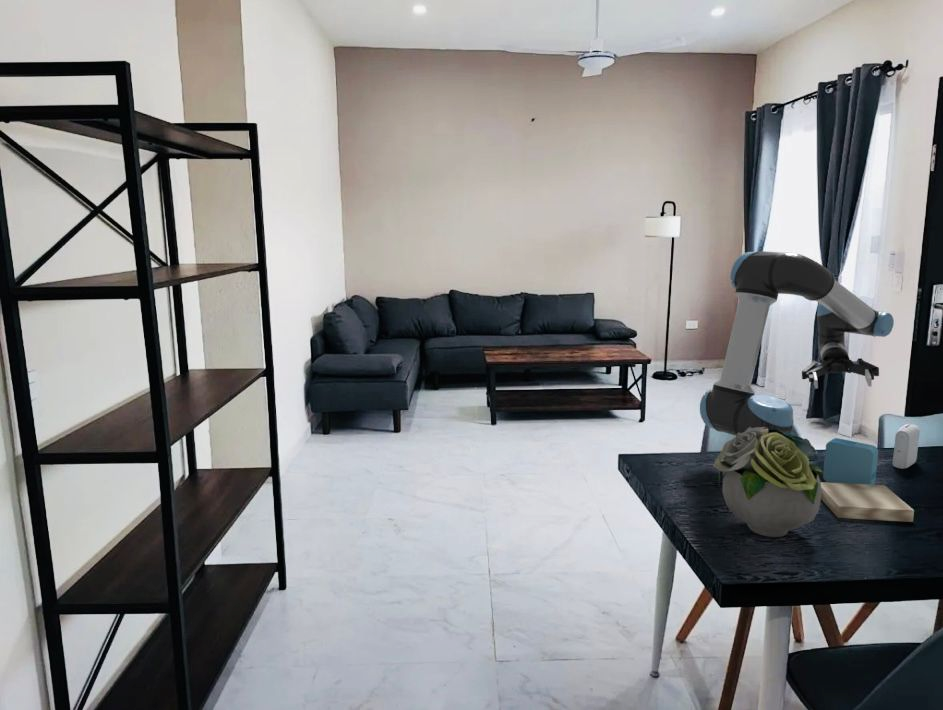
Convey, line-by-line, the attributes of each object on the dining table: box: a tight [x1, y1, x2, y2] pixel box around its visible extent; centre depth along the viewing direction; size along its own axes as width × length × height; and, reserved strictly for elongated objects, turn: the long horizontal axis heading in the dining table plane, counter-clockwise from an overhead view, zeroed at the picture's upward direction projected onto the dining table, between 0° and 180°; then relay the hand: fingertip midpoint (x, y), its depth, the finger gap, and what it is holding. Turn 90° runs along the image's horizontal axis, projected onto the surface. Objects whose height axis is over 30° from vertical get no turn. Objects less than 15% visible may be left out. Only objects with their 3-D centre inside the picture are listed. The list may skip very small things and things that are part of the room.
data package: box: [822, 438, 879, 485], centre depth 188 cm, size 12×4×12 cm, turn 44°
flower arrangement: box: [712, 427, 824, 538], centre depth 158 cm, size 25×25×24 cm
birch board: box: [821, 481, 915, 523], centre depth 173 cm, size 17×16×3 cm
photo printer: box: [892, 423, 921, 470], centre depth 203 cm, size 10×4×12 cm, turn 130°
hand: (842, 383), depth 195 cm, fingers open, 13 cm apart
